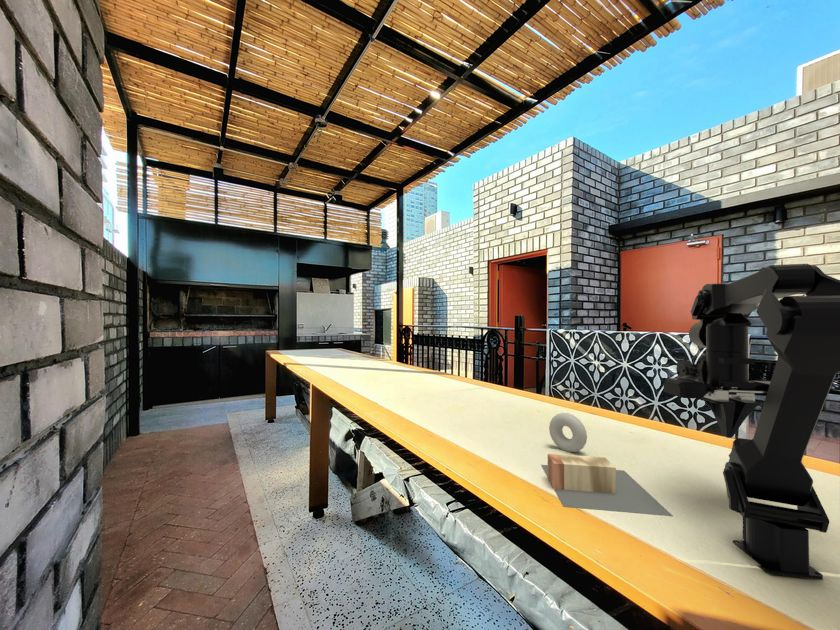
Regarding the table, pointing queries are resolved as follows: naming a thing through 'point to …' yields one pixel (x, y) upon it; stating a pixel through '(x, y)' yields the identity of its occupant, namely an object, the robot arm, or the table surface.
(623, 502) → the rubber mat
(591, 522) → the table surface
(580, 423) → the donut
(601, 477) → the pine block
